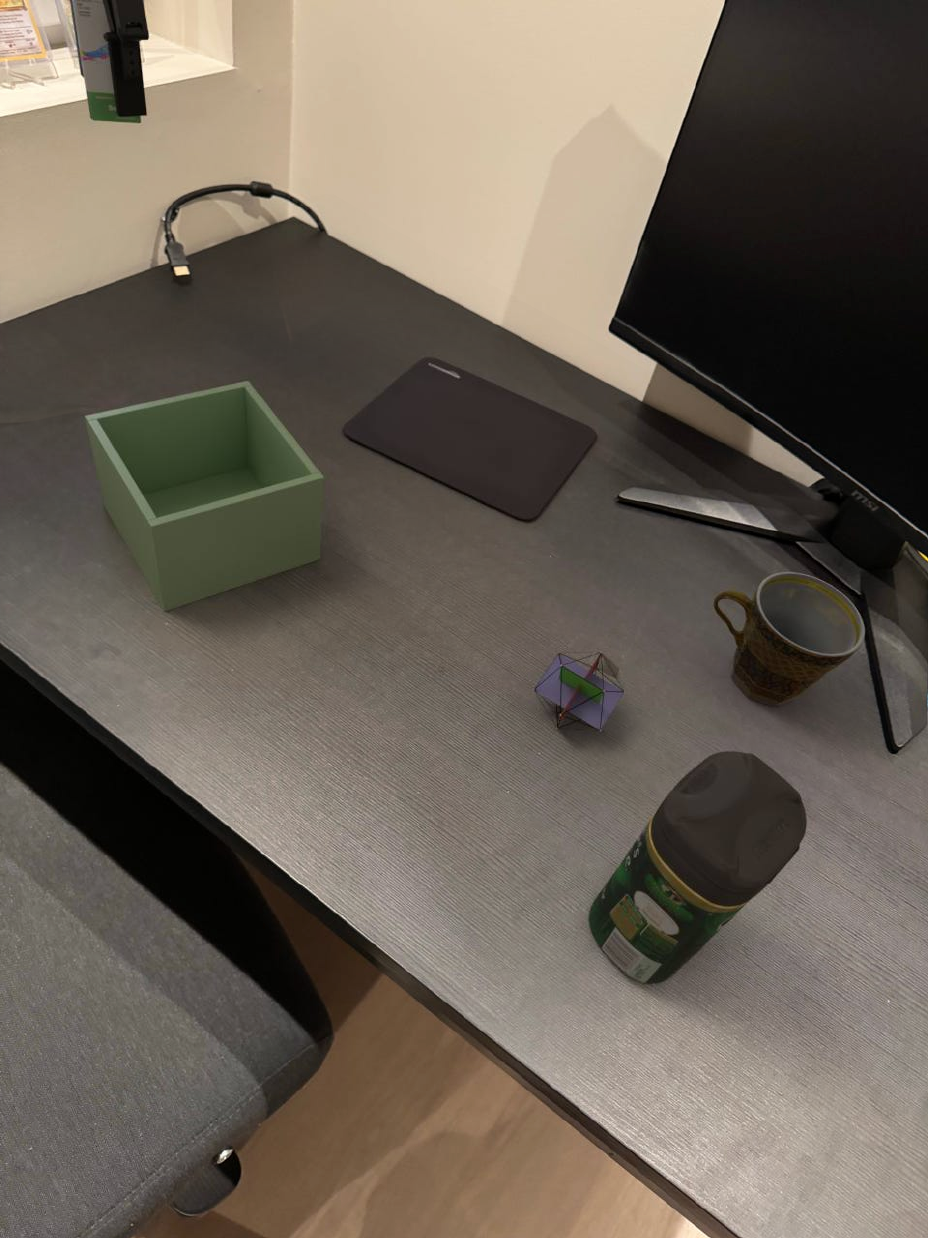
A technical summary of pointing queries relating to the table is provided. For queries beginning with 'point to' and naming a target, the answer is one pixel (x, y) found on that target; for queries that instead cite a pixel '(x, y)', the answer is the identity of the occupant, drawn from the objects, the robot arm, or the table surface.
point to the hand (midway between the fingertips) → (113, 94)
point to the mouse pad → (473, 436)
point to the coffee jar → (697, 864)
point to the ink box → (97, 61)
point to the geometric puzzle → (581, 689)
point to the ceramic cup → (791, 636)
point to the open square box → (207, 491)
